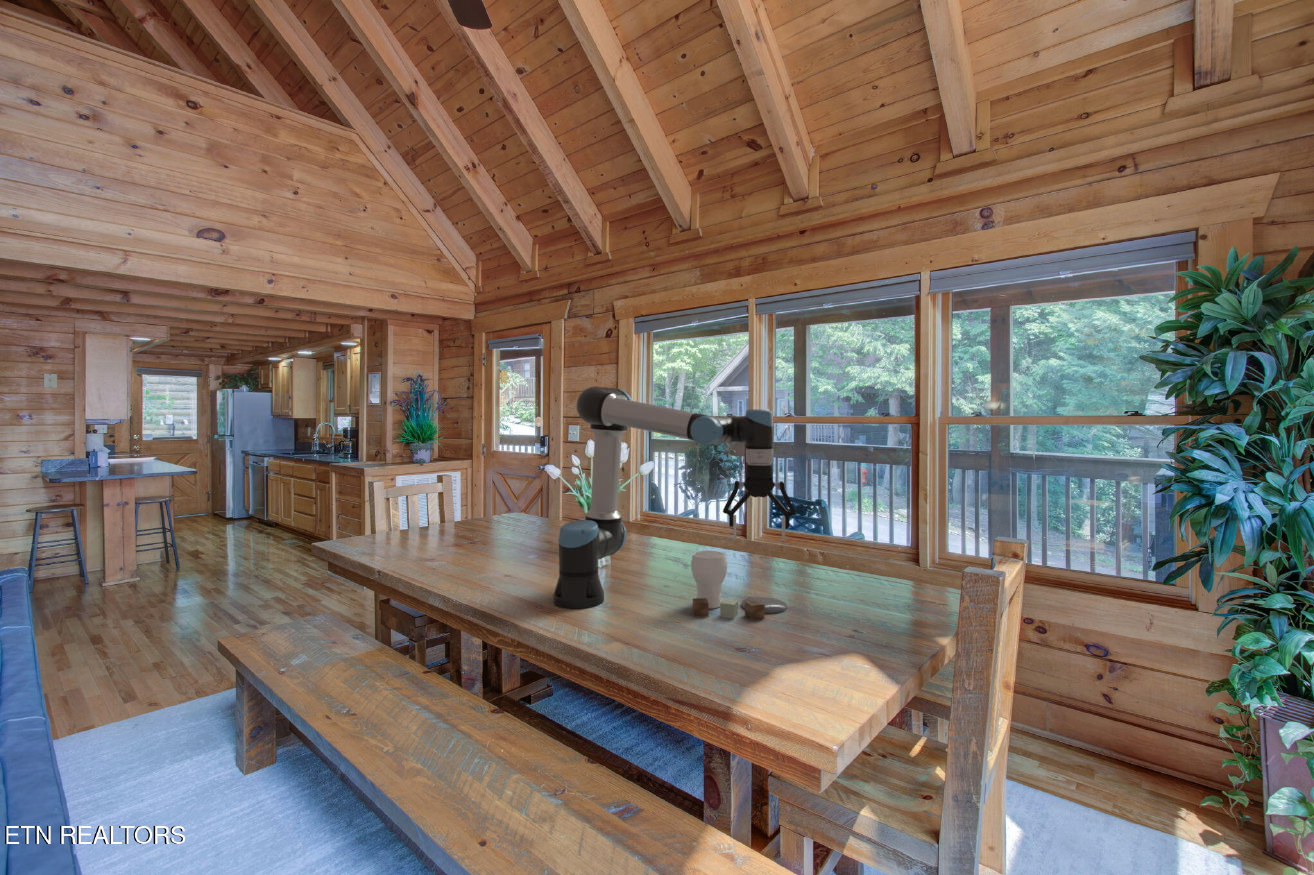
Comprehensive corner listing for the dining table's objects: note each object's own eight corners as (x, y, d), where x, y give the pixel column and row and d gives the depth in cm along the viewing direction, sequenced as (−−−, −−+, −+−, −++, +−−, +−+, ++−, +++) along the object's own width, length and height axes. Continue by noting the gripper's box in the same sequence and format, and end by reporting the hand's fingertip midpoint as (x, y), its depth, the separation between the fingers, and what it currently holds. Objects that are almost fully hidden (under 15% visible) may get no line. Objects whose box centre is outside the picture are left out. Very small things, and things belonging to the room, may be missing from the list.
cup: (726, 599, 178) (727, 550, 177) (727, 610, 167) (727, 558, 167) (691, 598, 179) (691, 549, 178) (690, 609, 168) (690, 557, 168)
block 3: (751, 620, 160) (751, 605, 160) (744, 615, 164) (744, 601, 164) (764, 618, 161) (764, 604, 161) (757, 614, 165) (757, 600, 165)
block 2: (720, 617, 162) (720, 602, 162) (724, 612, 166) (724, 598, 166) (734, 619, 161) (734, 604, 161) (738, 614, 164) (738, 600, 164)
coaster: (741, 612, 166) (741, 609, 166) (741, 598, 179) (741, 596, 179) (788, 614, 164) (788, 611, 164) (784, 600, 177) (784, 597, 177)
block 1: (694, 617, 162) (694, 602, 162) (692, 612, 166) (692, 598, 166) (708, 616, 163) (708, 602, 162) (706, 612, 167) (706, 598, 166)
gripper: (714, 464, 163) (713, 540, 164) (806, 465, 159) (805, 543, 160) (715, 462, 171) (715, 535, 171) (803, 463, 167) (802, 537, 167)
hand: (758, 539), depth 166 cm, fingers open, 13 cm apart
